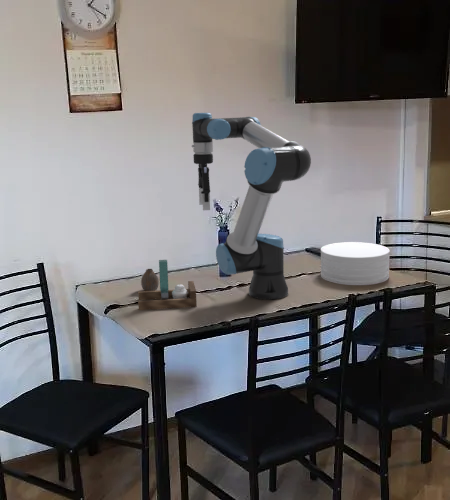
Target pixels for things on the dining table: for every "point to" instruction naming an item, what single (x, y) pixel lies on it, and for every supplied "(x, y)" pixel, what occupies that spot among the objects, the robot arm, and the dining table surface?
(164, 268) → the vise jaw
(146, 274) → the vase
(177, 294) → the white rounded lump
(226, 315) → the dining table surface
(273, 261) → the robot arm
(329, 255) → the plate stack
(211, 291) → the dining table surface
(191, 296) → the wooden tray
